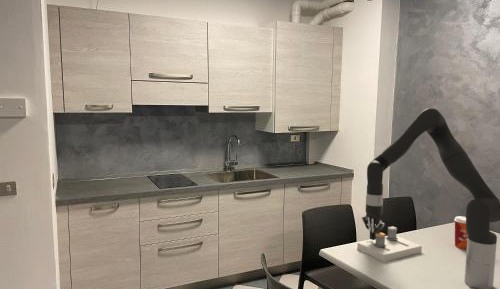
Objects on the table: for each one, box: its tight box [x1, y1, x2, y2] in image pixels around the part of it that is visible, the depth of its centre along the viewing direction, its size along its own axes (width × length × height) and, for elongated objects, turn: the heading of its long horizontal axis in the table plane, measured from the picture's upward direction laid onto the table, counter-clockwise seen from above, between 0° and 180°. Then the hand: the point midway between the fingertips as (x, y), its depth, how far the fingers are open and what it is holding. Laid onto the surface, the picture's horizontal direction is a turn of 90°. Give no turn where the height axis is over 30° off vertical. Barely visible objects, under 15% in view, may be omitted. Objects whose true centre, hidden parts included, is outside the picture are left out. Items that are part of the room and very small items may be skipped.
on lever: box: [385, 225, 398, 241], centre depth 177 cm, size 4×3×6 cm
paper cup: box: [454, 215, 468, 250], centre depth 176 cm, size 8×8×14 cm
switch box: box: [357, 235, 423, 262], centre depth 171 cm, size 24×16×3 cm, turn 117°
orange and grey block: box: [374, 232, 386, 248], centre depth 168 cm, size 4×3×6 cm
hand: (372, 239), depth 172 cm, fingers closed
